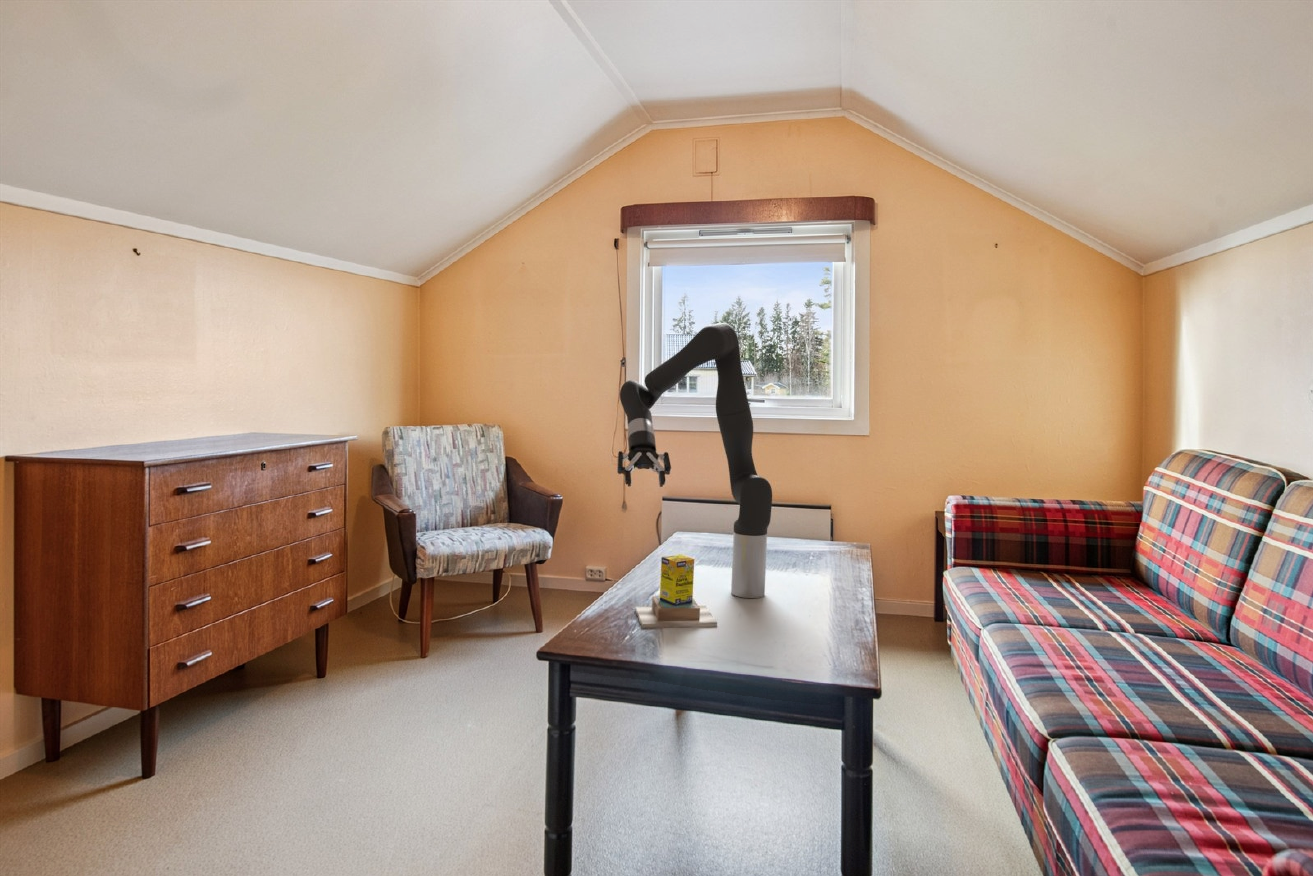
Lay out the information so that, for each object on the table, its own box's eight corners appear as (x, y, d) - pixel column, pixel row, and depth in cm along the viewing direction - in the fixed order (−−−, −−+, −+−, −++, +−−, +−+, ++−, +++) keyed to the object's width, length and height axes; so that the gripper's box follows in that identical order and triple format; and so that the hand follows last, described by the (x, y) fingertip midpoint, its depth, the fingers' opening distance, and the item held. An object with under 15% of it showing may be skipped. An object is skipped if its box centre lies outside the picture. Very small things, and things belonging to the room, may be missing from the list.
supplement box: (674, 606, 169) (676, 561, 169) (659, 600, 174) (660, 556, 173) (693, 602, 173) (695, 558, 172) (677, 596, 178) (679, 553, 177)
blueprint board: (635, 610, 179) (635, 594, 179) (705, 609, 182) (705, 593, 181) (642, 628, 166) (642, 610, 166) (717, 626, 169) (717, 609, 168)
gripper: (617, 428, 193) (620, 475, 183) (668, 430, 195) (674, 476, 185) (614, 446, 199) (617, 493, 188) (664, 447, 201) (670, 493, 191)
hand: (645, 484), depth 187 cm, fingers open, 8 cm apart
